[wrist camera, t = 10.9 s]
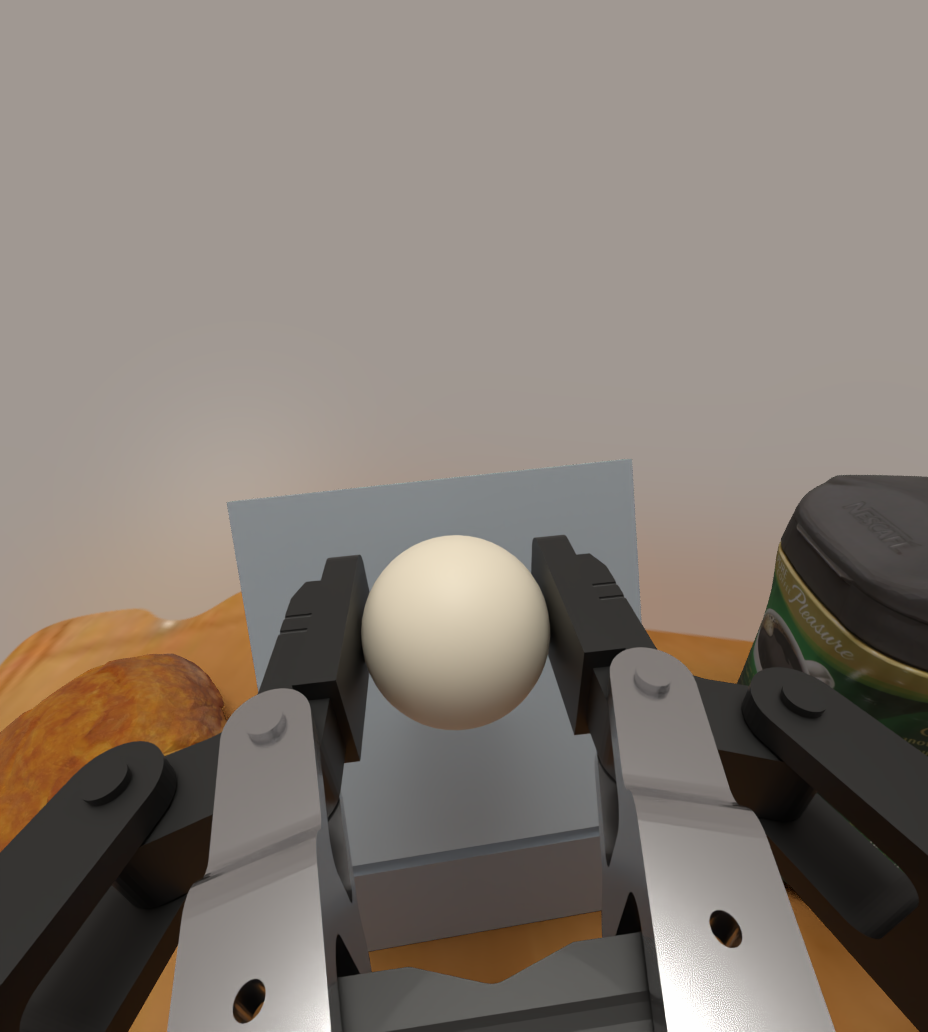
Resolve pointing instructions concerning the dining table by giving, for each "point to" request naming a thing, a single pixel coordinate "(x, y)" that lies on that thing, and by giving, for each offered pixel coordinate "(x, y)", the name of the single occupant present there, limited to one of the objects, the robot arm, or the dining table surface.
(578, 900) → the grey box
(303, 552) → the lid
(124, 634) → the dining table surface
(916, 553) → the coffee jar
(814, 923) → the dining table surface
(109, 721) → the croissant
